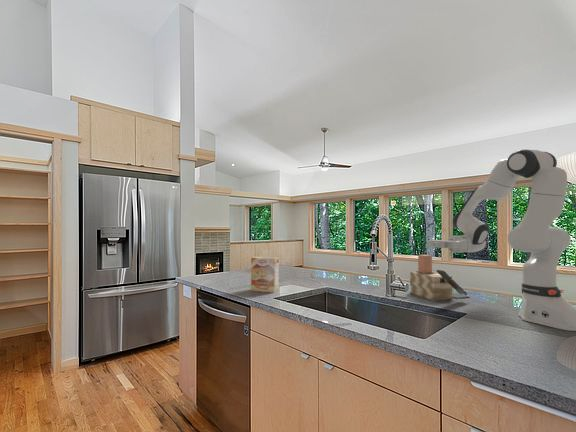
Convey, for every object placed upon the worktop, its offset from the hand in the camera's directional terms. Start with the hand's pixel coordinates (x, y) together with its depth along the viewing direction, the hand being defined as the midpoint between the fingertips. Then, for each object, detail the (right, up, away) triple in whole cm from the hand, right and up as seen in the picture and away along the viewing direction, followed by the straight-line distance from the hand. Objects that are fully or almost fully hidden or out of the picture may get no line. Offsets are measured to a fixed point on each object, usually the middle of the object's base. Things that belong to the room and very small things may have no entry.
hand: (434, 244), depth 155 cm
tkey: (+17, -26, +6) cm, 31 cm away
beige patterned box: (+6, -30, +17) cm, 35 cm away
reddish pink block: (+5, -18, +21) cm, 28 cm away
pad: (+20, -30, +16) cm, 39 cm away
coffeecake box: (-87, -30, +27) cm, 96 cm away
